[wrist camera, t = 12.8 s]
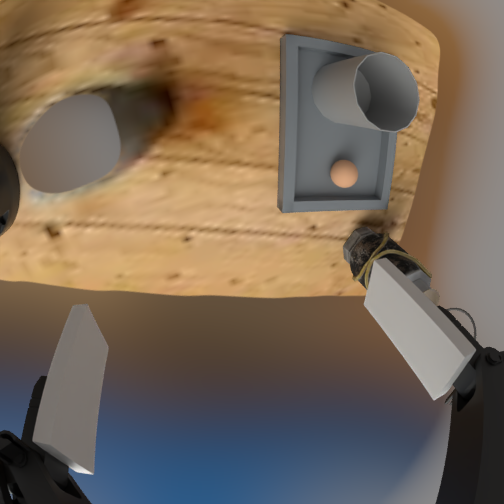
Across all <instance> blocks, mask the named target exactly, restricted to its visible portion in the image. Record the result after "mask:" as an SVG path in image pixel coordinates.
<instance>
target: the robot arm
mask: <svg viewBox="0 0 504 504" xmlns="http://www.w3.org/2000/svg"><path fill="white" fill-rule="evenodd" d="M18 205H19V182H18V177H17V172H16V169H15V166H14V163H13V161H12V159H11V157H10V155H9V154H8V152H7V151H6V149H5V148H4V147H3V146H2V145H1V144H0V236H1V235H2V234H4V233H5V232H6V231H7V230H8V229H9V228H10V227H11V225H12V224H13V222H14V220H15V217H16V214H17V211H18ZM364 306H365V307H366V308H367V309H368V311H369V312H370V313H371V314H372V316H373V317H374V318H375V320H376V321H377V322H378V323H379V325H380V326H381V327H382V329H383V330H384V331H385V333H386V334H387V335H388V337H389V338H390V339H391V341H392V342H393V343H394V345H395V346H396V348H397V349H398V350H399V351H400V353H401V354H402V356H403V357H404V358H405V360H406V361H407V363H408V364H409V365H410V367H411V368H412V370H413V371H414V372H415V374H416V375H417V377H418V378H419V379H420V381H421V382H422V384H423V385H424V387H425V388H426V389H427V391H428V392H429V394H430V395H431V397H432V398H433V400H435V399H437V398H439V397H440V396H442V395H444V394H445V393H446V392H447V391H448V390H449V388H450V387H451V386H452V385H453V386H454V387H455V389H454V390H453V392H452V393H451V394H450V395H449V397H448V398H447V399H446V401H445V404H447V403H448V402H449V401H450V400H451V399H452V401H451V403H450V405H452V411H451V423H450V433H449V441H448V448H447V455H446V460H445V466H444V471H443V476H442V480H441V485H440V489H439V493H438V497H437V501H436V504H504V351H502V352H499V351H497V350H496V349H494V348H492V347H486V348H483V347H482V346H480V345H479V343H478V342H477V341H476V340H475V339H474V338H473V337H472V335H470V333H469V332H468V331H467V330H466V329H465V328H464V327H463V326H461V324H460V323H459V321H458V320H456V318H455V317H454V316H453V315H452V314H451V313H450V312H449V311H448V310H446V309H444V308H443V307H441V306H436V305H435V304H434V303H433V302H432V301H431V300H430V299H429V298H428V297H427V296H426V295H425V294H424V293H423V292H422V291H421V290H420V289H419V288H418V287H417V286H416V285H415V284H414V283H413V282H412V281H410V280H409V279H408V278H407V277H406V276H405V275H404V274H403V273H402V272H401V271H400V270H399V269H398V268H397V267H396V266H395V265H393V264H392V263H391V262H390V261H389V260H388V259H387V258H383V259H378V260H374V262H373V267H372V272H371V277H370V281H369V285H368V290H367V294H366V298H365V302H364ZM108 348H109V347H108V345H107V343H106V341H105V339H104V337H103V335H102V333H101V332H100V329H99V328H98V325H97V324H96V321H95V319H94V317H93V315H92V313H91V311H90V309H89V306H88V304H81V305H73V307H72V309H71V312H70V314H69V317H68V319H67V322H66V324H65V327H64V329H63V332H62V335H61V337H60V340H59V343H58V346H57V349H56V351H55V355H54V357H53V360H52V364H51V367H50V370H49V373H48V376H41V377H40V379H39V380H38V381H37V383H36V384H35V386H34V389H33V393H32V396H31V397H32V399H31V400H30V403H29V408H28V411H27V415H26V420H25V424H24V429H23V433H22V438H21V440H20V439H19V438H18V437H17V436H15V435H14V434H13V433H11V432H10V431H6V430H3V431H1V432H0V504H91V503H90V501H89V500H88V499H87V497H86V496H85V495H84V493H83V492H82V490H81V489H80V487H79V486H78V485H77V483H76V482H75V480H74V479H73V477H72V476H71V475H70V474H69V473H68V468H69V467H70V468H71V469H73V470H75V471H76V472H80V473H87V474H94V458H95V443H96V430H97V420H98V411H99V403H100V396H101V388H102V381H103V376H104V369H105V364H106V359H107V353H108ZM10 493H12V495H13V500H12V499H11V496H10Z"/></svg>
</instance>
